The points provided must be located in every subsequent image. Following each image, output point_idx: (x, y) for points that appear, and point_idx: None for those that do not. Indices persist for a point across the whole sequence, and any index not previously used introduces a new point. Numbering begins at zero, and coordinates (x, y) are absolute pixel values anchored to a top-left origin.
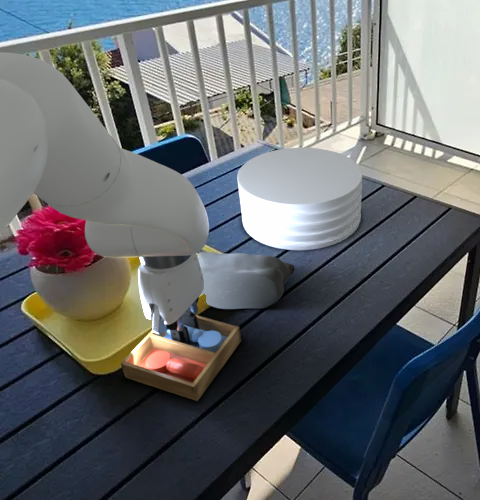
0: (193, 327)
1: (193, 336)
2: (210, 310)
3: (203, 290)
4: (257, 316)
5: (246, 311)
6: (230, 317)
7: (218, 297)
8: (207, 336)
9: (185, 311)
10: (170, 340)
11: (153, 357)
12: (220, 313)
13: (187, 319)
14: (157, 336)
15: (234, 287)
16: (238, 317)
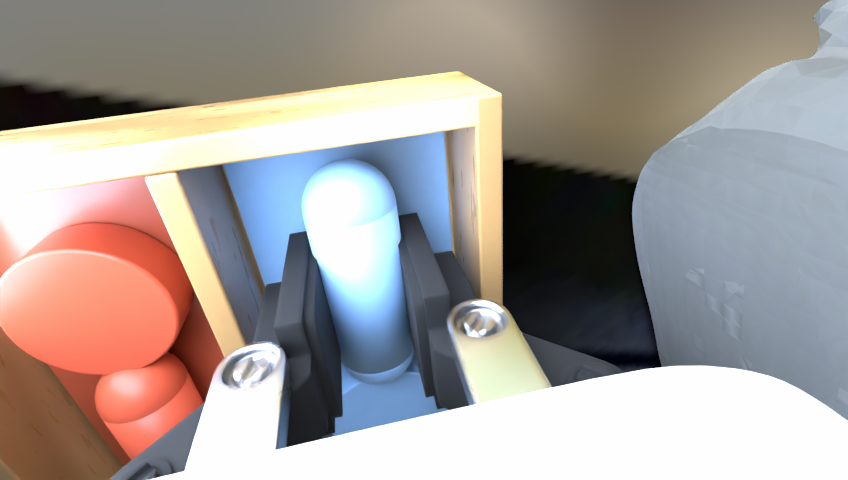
0: (410, 327)
1: (350, 373)
2: (609, 183)
3: (736, 191)
4: (617, 366)
5: (636, 319)
6: (585, 293)
7: (690, 255)
8: (395, 403)
9: (445, 378)
10: (226, 326)
11: (73, 287)
12: (599, 240)
13: (417, 343)
14: (188, 228)
15: (765, 374)
16: (594, 318)
